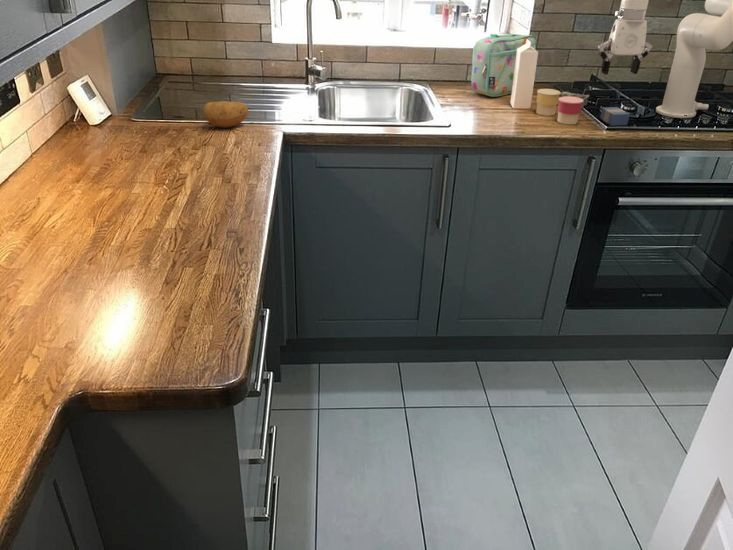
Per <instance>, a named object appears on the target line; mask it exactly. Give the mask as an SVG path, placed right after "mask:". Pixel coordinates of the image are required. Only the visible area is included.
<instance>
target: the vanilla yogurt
mask: <svg viewBox="0 0 733 550" xmlns="http://www.w3.org/2000/svg"><path fill="white" fill-rule="evenodd" d="M536 93H537V94H536V100H535V102H536V109H535V113H536V114H537V115H540V116H546V117H549V116H554V115H556V110H557V106H558V105H557V104H558V101H559V95H560V93H561V91H560V90H558V89H555V88H554V89H553V88H540V89H537V90H536Z"/></svg>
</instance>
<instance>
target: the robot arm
mask: <svg viewBox="0 0 733 550" xmlns="http://www.w3.org/2000/svg"><path fill="white" fill-rule="evenodd" d="M649 1H650V0H621V1H620V6H619V9H618V10H616V11H615V12H614V16H615V17H617V18H616V19H615V20H614V23H613V25H612V27H611V30H610V34H609V37H608V39H607V40H606V41H604V42H602V43H600V44H598V45H597V51H598V55H599V56H600V57H601V60H602V64H601V69H600V70H601V73H602V74H603V75H608V74H609V71H610V67H611V61H610V60H611V59H612V58H613V57H614V56H618V57H619V56H634V58H633V59H632V63H631V67H630V73H632V74H634V75H637V74H638V71H640V66H641V62H642V61H644V58H646V57H647V56H648V54H649V52H650V51H651V50H652V48H653V45H652V43H649V42H647V41H646V38H647V31H648V21H647V20H646V15H647V10H648V5H649ZM704 10H705V12H707V13H703V12H702V13H701V12H693V13H690V14H687V15H686V16H685V17H684V18H682V19H681V21H680V22H679V24H678V26H677V30H676V43H675V44H676V45H675V51H674V56H673V60H672V64H671V68H670V72H669V76H668V79H667V83H666V88H665V90H664V91H665V92H664V95H663V100H662V104H661V105H658V106H656V107H655V112H656V114H659V115H661V116H664V117H668V118H673V119H675V118H676V119H690V118H694V117H696V115H697V111H698V110H700V111H701V110H702V111H708V110H709V104H708V103H703V102H697V101H696V97H697V93H698V89H699V86H700V82H701V80H702V75H703V72H704V68H705V66H706V60H707V53H706V50H709V51H715V52H716V51H722V50H724V49H726V48H727V47H729V45H731V43H733V0H705V1H704ZM605 48H606V52H605ZM684 115H687V116H684Z"/></svg>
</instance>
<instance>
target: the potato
mask: <svg viewBox="0 0 733 550" xmlns="http://www.w3.org/2000/svg"><path fill="white" fill-rule="evenodd" d="M202 114H203V116H204V118H205V119H206V121H207V122H208V124H209V123H210V124H211V125H212V126H215V127H217V128H223V129H228V128H232V127H234V126H237V125H239V124H241V123H242V122H243V121H244V120H245V119H246V118H247V117H248V114H249V108H248V107H247V105H246V104H245V102H240V101H227V100H225V101H224V100H221V101H209V102H207V103H206V104H204V105H203V107H202Z"/></svg>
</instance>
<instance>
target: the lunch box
mask: <svg viewBox="0 0 733 550" xmlns="http://www.w3.org/2000/svg"><path fill="white" fill-rule="evenodd" d="M527 39H528V40H529V41H530V42H531V47H532V48H534V49H535V50H536V51H537V40H536V37H534V36H533V35H532V34H526V35H525V34H518V33H506V34H497V33H495V34H494V33H490V34H489V36H485V37H483V38H480V39H478V40H477V41H476V42H475V43H474V45H473V48H472V55H471V56H472V58H471V74H470V76H471V77H470V79H471V80H470V82H471V89H472V91H473V92H474V93H475V94H478V95H482V96H483V95H484V96H487V97H490V98H497V97H498V98H499V97H502V96H507V95H511V93H512V85H513V77H514V69H515V61H516V53H517V49H518V48H519V47H521V46H523V45H525V44H526V41H527Z"/></svg>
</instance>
